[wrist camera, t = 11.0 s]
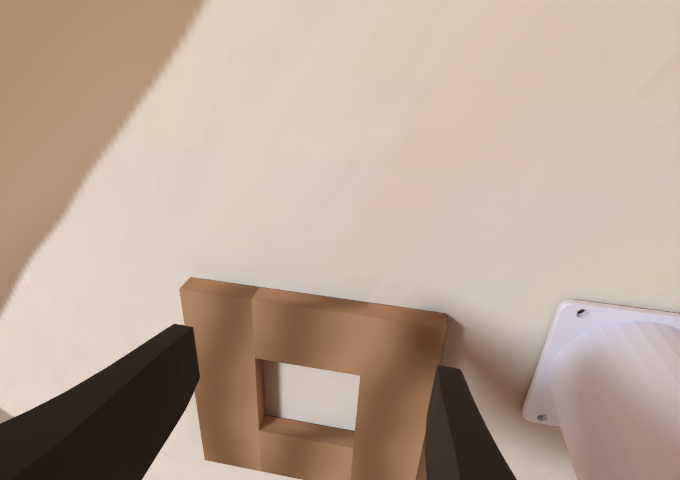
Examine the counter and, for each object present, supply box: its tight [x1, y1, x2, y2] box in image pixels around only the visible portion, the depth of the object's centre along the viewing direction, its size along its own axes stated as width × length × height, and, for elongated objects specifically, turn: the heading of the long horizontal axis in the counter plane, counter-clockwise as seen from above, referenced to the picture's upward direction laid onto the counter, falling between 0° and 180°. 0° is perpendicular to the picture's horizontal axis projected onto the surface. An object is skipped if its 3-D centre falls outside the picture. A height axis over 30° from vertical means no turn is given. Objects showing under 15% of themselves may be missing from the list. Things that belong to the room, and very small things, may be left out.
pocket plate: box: [179, 277, 447, 480], centre depth 25 cm, size 14×14×1 cm
